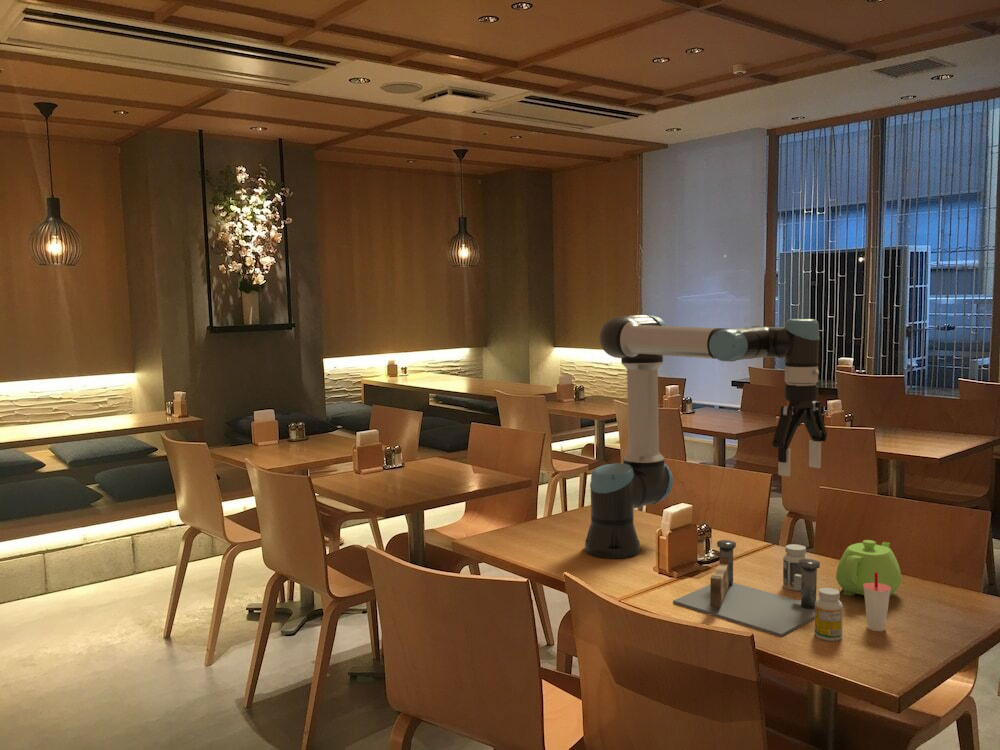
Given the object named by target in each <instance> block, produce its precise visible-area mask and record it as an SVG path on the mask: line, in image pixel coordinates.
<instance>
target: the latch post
mask: <svg viewBox="0 0 1000 750" xmlns="http://www.w3.org/2000/svg"><path fill="white" fill-rule="evenodd" d="M820 563H821V562H820V561H819V560H816V559H811V558H808V559H801V560H799V566H800V567H801V575H799V574H795V575H794V588H796V589H800V590H801V591H800V601H801V607H802V608H805V609H815V602H816V600H817V583H818V581H817V580H818V579H817V576H818V569H819V568H821V564H820Z"/></svg>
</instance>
